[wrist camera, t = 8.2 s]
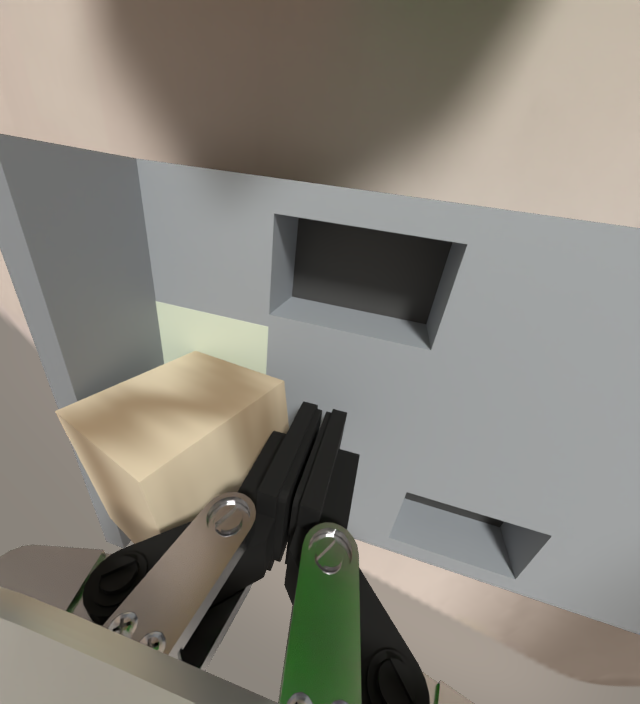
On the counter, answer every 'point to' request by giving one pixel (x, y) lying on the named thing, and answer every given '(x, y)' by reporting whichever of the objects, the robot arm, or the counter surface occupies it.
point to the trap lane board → (367, 347)
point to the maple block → (174, 439)
